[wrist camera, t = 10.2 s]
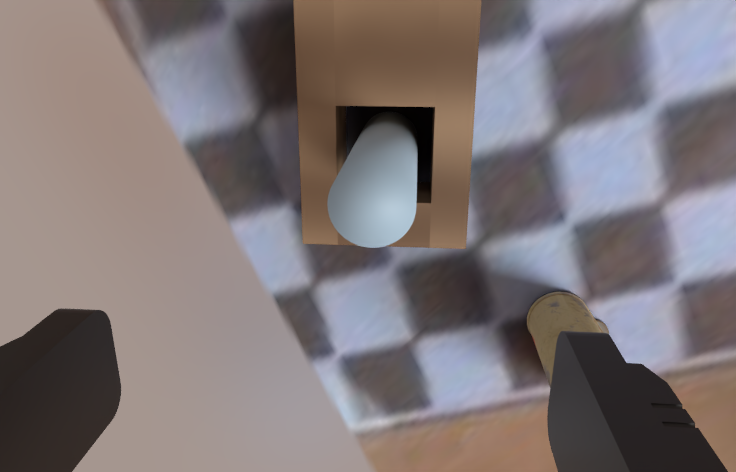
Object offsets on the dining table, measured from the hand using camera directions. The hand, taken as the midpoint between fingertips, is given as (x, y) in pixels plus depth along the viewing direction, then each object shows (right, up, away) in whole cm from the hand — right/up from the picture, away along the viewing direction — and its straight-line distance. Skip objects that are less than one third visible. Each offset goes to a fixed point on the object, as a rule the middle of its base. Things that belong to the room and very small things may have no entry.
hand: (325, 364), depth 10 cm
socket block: (+2, +12, +19) cm, 22 cm away
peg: (+2, +7, +21) cm, 22 cm away
